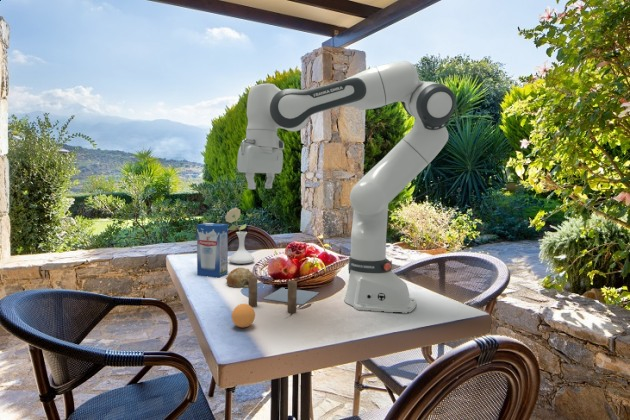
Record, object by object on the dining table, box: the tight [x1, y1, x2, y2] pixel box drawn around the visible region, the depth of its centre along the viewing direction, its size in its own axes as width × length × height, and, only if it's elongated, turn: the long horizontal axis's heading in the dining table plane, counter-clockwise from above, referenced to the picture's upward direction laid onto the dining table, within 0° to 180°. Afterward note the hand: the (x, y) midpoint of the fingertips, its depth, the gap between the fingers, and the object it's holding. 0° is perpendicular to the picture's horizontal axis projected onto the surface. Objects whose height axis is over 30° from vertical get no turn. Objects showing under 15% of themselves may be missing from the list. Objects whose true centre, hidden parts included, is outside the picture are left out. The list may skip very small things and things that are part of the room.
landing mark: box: [262, 287, 320, 306], centre depth 134 cm, size 14×14×1 cm
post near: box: [286, 279, 298, 314], centre depth 118 cm, size 3×3×9 cm
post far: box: [248, 274, 258, 308], centre depth 123 cm, size 3×3×9 cm
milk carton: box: [196, 222, 229, 279], centre depth 159 cm, size 10×6×20 cm, turn 72°
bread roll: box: [225, 267, 254, 289], centre depth 147 cm, size 10×10×8 cm
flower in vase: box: [224, 207, 255, 265], centre depth 181 cm, size 13×11×25 cm
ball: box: [231, 303, 256, 328], centre depth 106 cm, size 6×6×6 cm
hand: (260, 188), depth 119 cm, fingers open, 8 cm apart
